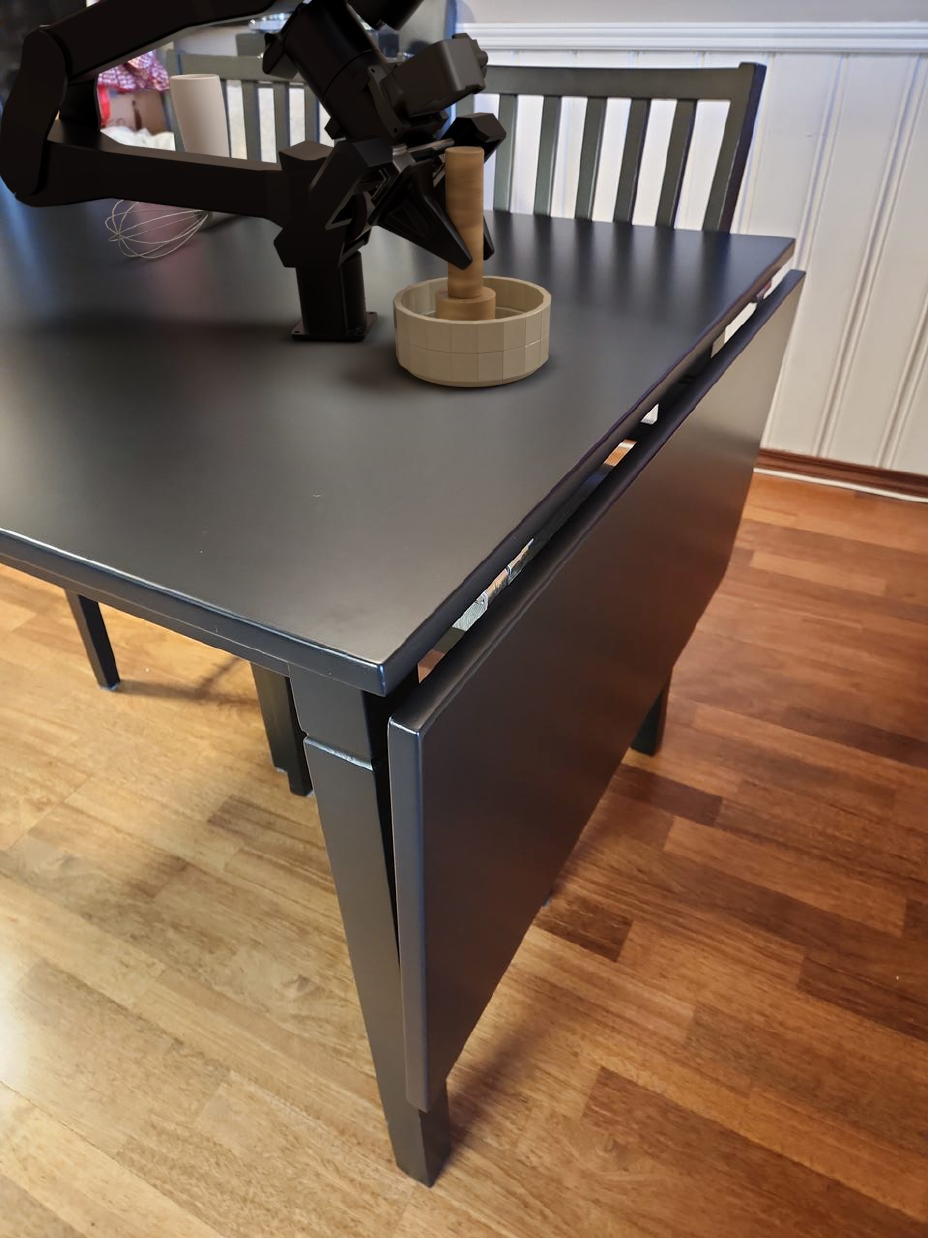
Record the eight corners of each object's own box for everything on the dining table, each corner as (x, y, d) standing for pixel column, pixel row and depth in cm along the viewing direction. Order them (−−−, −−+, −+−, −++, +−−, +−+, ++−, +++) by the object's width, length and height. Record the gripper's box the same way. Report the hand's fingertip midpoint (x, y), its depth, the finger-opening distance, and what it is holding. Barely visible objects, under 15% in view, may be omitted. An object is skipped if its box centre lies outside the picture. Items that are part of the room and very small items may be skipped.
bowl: (545, 392, 62) (548, 324, 58) (385, 388, 63) (379, 321, 60) (549, 336, 71) (552, 276, 68) (410, 334, 72) (407, 274, 69)
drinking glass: (183, 201, 119) (157, 77, 110) (207, 192, 124) (185, 73, 115) (224, 204, 117) (202, 78, 108) (248, 194, 122) (228, 73, 113)
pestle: (439, 355, 65) (435, 155, 57) (433, 335, 69) (427, 144, 61) (499, 352, 66) (503, 153, 57) (489, 332, 70) (491, 142, 61)
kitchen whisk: (289, 205, 116) (282, 154, 112) (149, 271, 91) (134, 208, 87) (250, 203, 117) (242, 152, 113) (102, 267, 92) (85, 205, 88)
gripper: (320, -14, 49) (477, 211, 51) (486, -16, 61) (607, 165, 63) (247, 130, 57) (384, 318, 59) (406, 103, 69) (515, 259, 71)
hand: (479, 261), depth 63 cm, fingers closed on pestle, 3 cm apart
